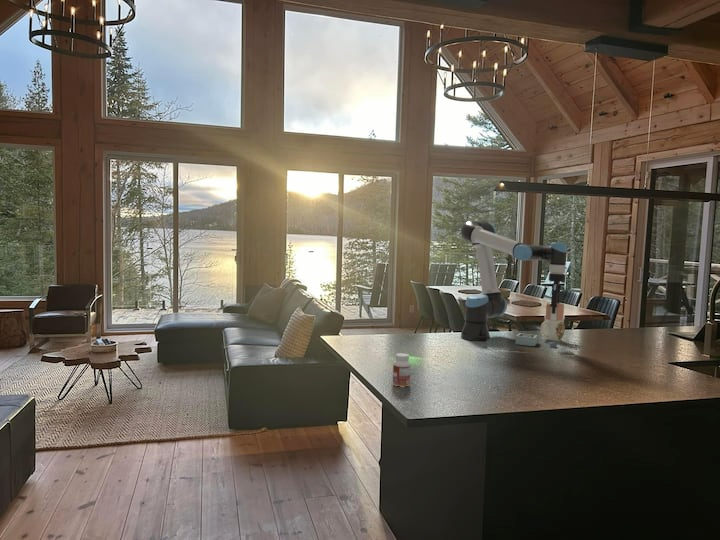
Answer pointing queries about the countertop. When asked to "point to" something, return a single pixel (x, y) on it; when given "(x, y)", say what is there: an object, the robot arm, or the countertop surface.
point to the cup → (559, 311)
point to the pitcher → (553, 329)
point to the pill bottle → (401, 370)
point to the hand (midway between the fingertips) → (554, 318)
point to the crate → (526, 339)
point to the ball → (553, 345)
